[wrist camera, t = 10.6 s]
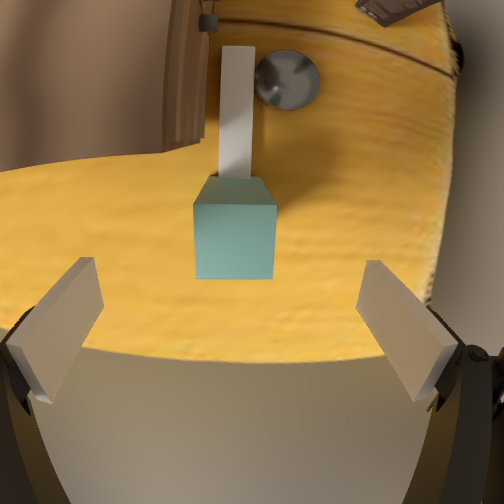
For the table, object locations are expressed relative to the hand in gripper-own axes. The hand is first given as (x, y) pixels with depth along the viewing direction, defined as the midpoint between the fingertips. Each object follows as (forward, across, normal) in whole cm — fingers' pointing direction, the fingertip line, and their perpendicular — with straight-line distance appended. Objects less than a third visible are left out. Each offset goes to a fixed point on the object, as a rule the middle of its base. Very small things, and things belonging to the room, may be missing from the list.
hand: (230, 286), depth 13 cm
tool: (+17, 0, +6) cm, 18 cm away
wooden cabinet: (+18, -10, +15) cm, 25 cm away
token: (+18, +5, +12) cm, 22 cm away
